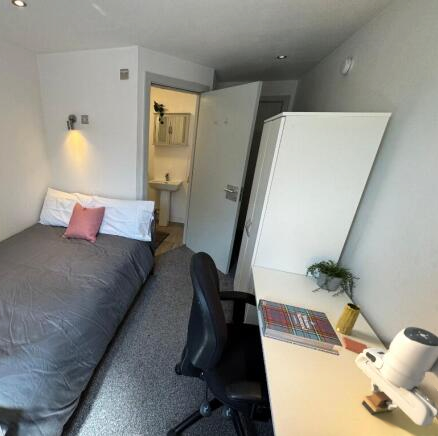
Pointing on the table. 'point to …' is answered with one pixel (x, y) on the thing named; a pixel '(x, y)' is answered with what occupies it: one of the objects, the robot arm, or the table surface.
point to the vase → (348, 318)
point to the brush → (376, 403)
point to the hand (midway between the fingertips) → (381, 400)
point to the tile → (354, 345)
